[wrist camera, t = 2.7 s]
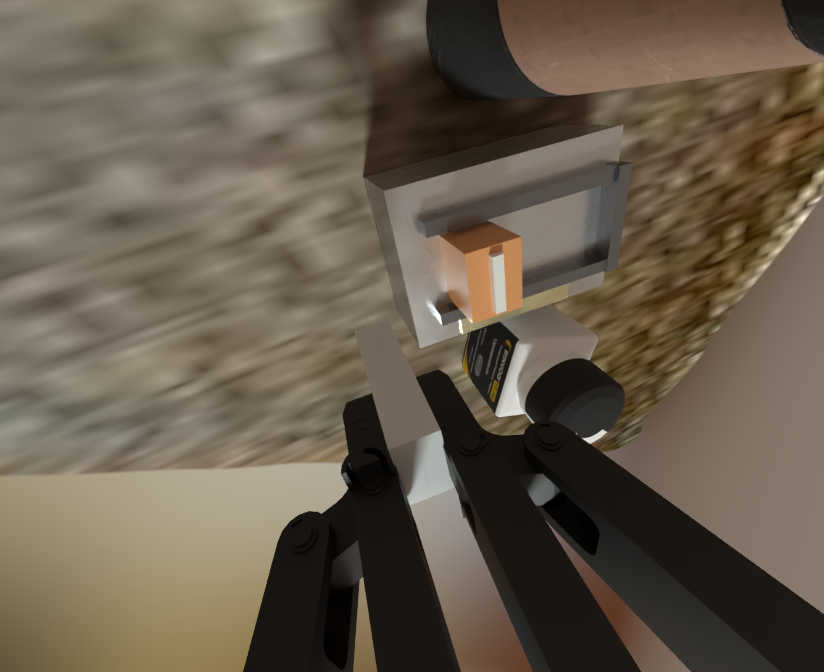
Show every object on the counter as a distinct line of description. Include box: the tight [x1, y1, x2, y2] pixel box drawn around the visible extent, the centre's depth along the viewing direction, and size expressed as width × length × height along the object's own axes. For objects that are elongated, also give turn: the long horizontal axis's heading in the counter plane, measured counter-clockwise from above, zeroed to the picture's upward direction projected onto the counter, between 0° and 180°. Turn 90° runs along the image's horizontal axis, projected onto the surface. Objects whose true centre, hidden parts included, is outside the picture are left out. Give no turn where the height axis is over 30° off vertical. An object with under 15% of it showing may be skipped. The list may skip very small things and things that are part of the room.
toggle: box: [439, 221, 523, 324], centre depth 19 cm, size 4×3×4 cm
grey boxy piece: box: [363, 125, 633, 348], centre depth 23 cm, size 10×14×7 cm
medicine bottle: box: [462, 304, 625, 444], centre depth 27 cm, size 7×7×12 cm
